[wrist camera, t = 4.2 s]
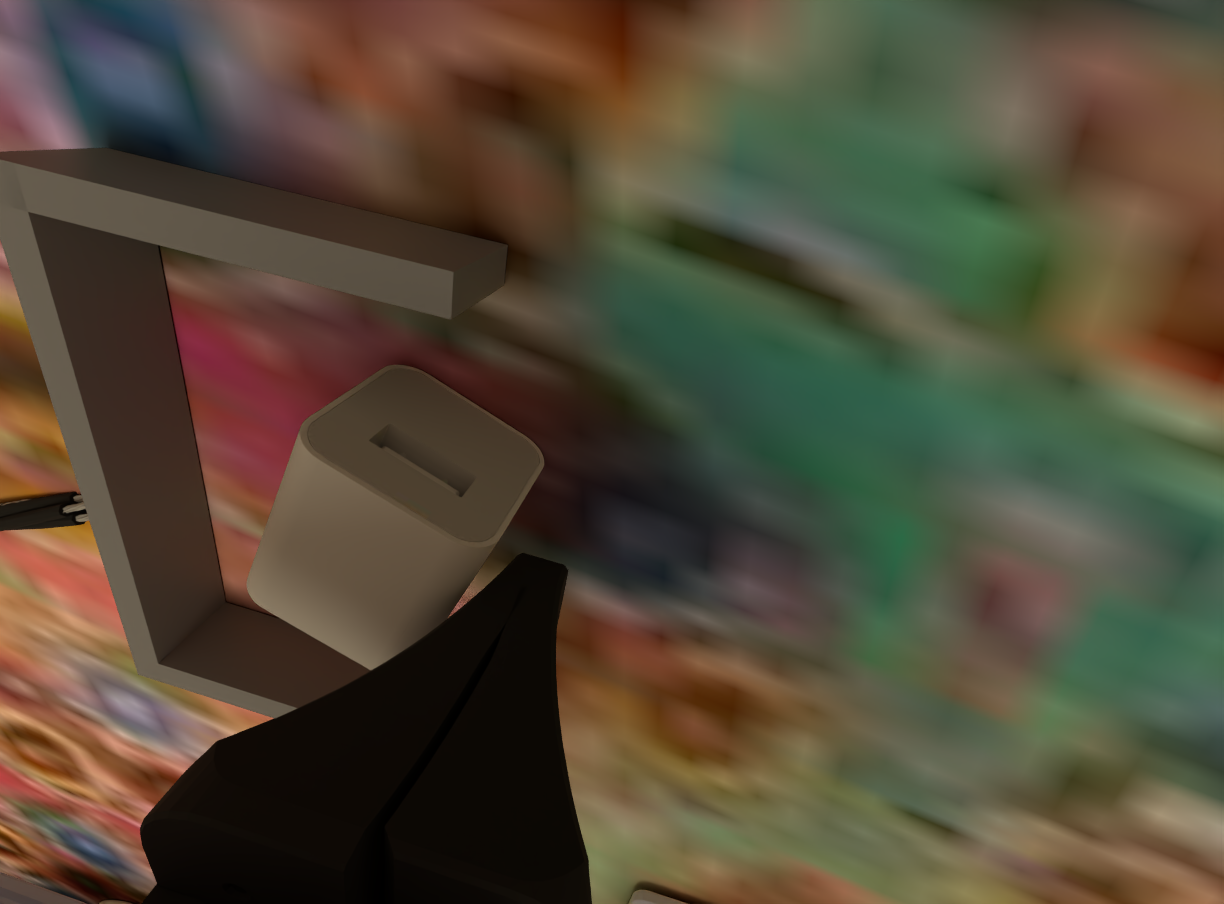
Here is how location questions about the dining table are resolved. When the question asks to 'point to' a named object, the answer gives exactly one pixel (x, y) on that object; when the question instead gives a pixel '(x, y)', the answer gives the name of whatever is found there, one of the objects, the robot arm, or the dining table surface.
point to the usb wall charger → (388, 513)
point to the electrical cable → (43, 512)
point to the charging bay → (154, 387)
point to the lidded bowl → (114, 902)
